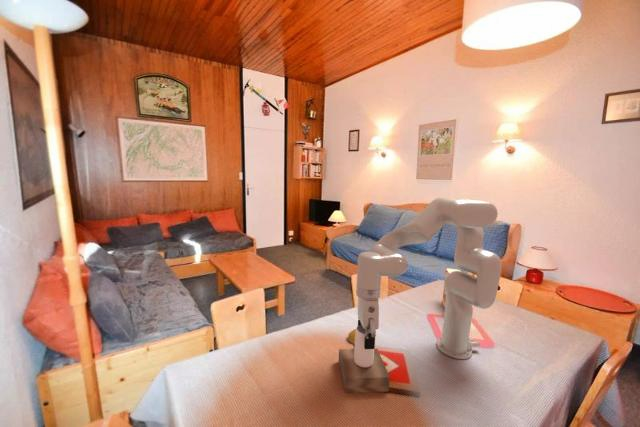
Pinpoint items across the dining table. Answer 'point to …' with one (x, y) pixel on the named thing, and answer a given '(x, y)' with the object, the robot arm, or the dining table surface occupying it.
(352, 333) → the bread roll
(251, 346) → the dining table surface
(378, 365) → the block
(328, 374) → the dining table surface
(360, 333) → the can
